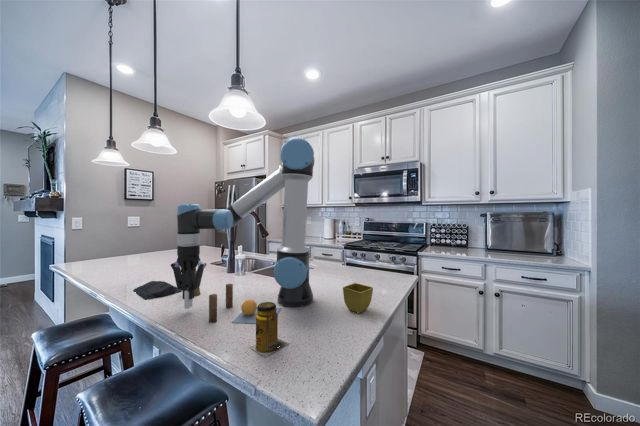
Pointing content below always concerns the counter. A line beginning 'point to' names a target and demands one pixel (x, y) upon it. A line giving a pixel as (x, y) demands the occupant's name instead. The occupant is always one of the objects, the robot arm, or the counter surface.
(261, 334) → the condiment
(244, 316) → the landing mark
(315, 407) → the counter surface
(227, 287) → the post
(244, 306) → the ball
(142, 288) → the dark slate chunk
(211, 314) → the post
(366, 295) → the flower pot
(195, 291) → the cork
